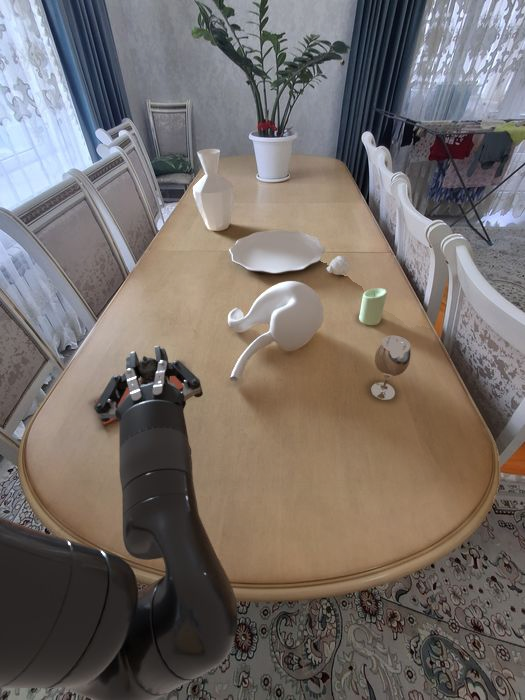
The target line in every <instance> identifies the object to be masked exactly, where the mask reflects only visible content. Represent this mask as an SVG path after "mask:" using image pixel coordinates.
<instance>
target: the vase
mask: <svg viewBox="0 0 525 700" xmlns="http://www.w3.org/2000/svg"><path fill="white" fill-rule="evenodd" d="M196 154H197V156H198V159H199V161H200V164H201V167H202V169H203V172H204V175H203V176H202V178H201V179H199V180H198V182H197V183H196V184H195V185H193V187H192V190H193V191H192V192H193V197H194V200H195V204H196V207H197V209H198V211H199V214H200V215H201V218H202V220H203V222H204V223H205V226H206V228H207V229H208V230H210V231H211V232H212V231H213V232H220V231H224V230H226V229H228V228H229V226H230V224H231V221H232V215H233V210H234V209H233V208H234V203H235V188H234V187H235V186H234V184H233V182H231V181H230V180H229V179H226V178H225V177H224V176H222V175H220V174H219V173H218V171H219V163H220V156H221V150H220V149H219V148H204V149H200V150H198V151H196Z"/></svg>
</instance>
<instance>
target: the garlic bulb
mask: <svg viewBox="0 0 525 700" xmlns="http://www.w3.org/2000/svg"><path fill="white" fill-rule="evenodd" d="M350 269H351V261H350V259H349V258H348V257H347V256H346V255H338V256H336V257H335V258H333V259H332V261H331V262H330V263H329V265H328V266H327V267H326V271H327V272H328V273H330V274H334V275H335V276H343V275H344V276H345V275H347V274H348V273H349V271H350Z"/></svg>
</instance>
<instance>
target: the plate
mask: <svg viewBox="0 0 525 700" xmlns="http://www.w3.org/2000/svg"><path fill="white" fill-rule="evenodd" d="M325 251H326V247H325V246H324V245H323V244H322V243H321V242H320V239H319V238H317V237H316V236H314V235H313V236H312V235H309V234H307V233H305V232H302V231H301V230H287V229H286V230H285V229H271V230H265V231H256V232H253V233H251V234H249V235H247V236H243V237H240V238H239V239H237V240H236V242H235V244H234V245H233V246H231V247H230V248H229V250H228V252H229V254H230V255H231V262H232V263H234V264H236V265H240V266H242V267H243V268H244V269H245V270H247V271H249V272H256V273H261V274H264V275H265V274H266V275H283V274H284V275H285V274H289V273H295V272H300V271H303V270H305V269H306V268H309V266H312V265H314V264H317V263H319V262H320V261H321V260H322V255H323V253H324V252H325Z"/></svg>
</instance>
